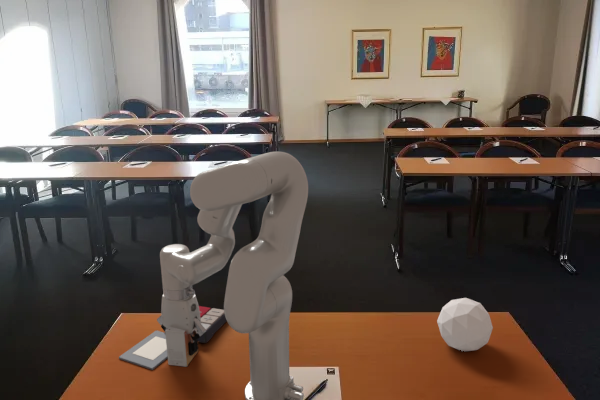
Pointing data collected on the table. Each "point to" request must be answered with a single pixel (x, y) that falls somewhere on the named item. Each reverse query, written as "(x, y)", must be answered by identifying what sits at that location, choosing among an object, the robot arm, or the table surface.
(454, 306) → the geometric sphere
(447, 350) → the table surface
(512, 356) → the table surface
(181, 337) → the small box
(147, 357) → the board
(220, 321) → the calculator
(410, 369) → the table surface
